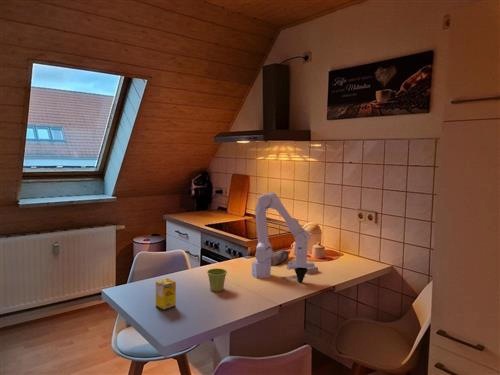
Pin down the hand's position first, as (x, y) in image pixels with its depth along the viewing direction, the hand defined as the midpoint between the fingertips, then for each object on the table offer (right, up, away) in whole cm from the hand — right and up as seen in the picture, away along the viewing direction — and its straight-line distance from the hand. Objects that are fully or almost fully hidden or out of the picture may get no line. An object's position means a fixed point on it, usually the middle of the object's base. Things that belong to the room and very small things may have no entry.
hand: (300, 282), depth 187 cm
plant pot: (-41, -1, -9) cm, 42 cm away
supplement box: (-60, -3, -30) cm, 67 cm away
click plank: (0, -1, +2) cm, 2 cm away
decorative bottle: (-7, +2, +37) cm, 37 cm away
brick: (+4, 0, +21) cm, 22 cm away
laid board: (-3, -1, +7) cm, 8 cm away
